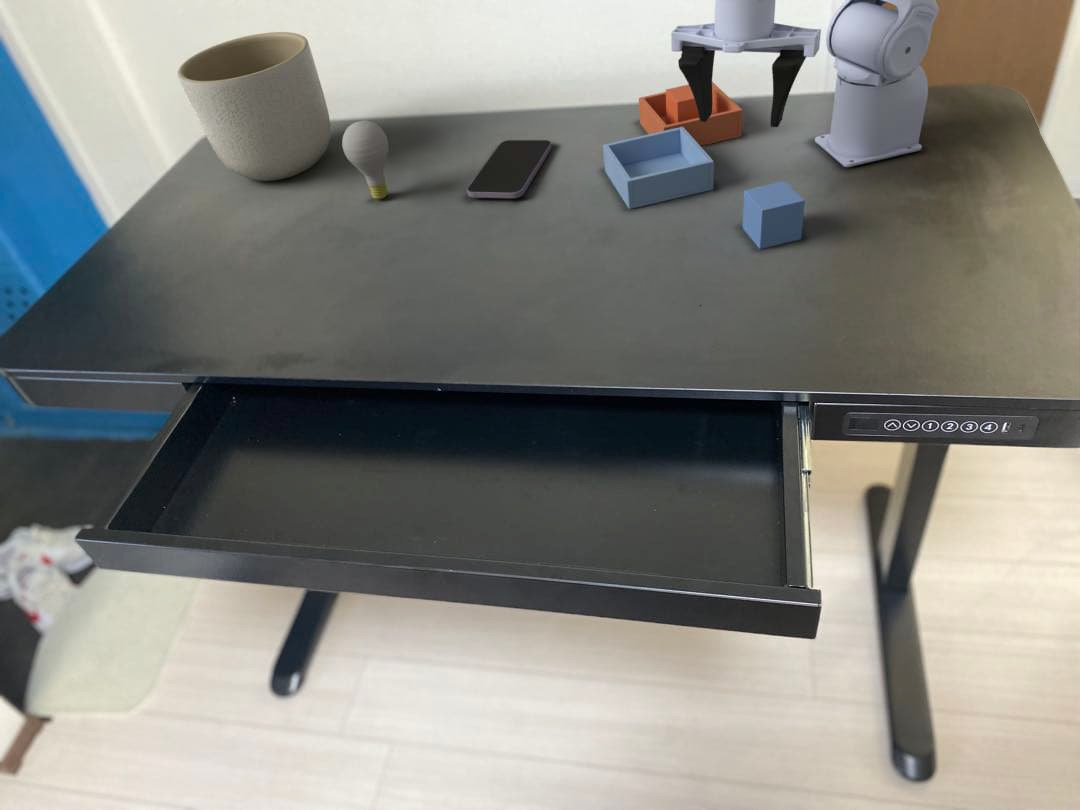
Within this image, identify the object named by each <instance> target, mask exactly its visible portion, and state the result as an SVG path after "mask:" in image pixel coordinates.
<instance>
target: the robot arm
mask: <svg viewBox="0 0 1080 810" xmlns="http://www.w3.org/2000/svg"><path fill="white" fill-rule="evenodd" d="M885 4H891V5H893V6H895V7H896V9H897V10H894V9H892V8H888V7H885V6H883V5H885ZM939 13H940V8H939V5H938V3H937V0H844V2H843V3H842V4H841V5H840V7H838V9H837V10H836V11H835V13H834V14H833V16H832V18H831V19H830V21H829V23H828V26H827V30H826V34H825V44H826V49H827V51H828V52H829V54H830V55H831V56H832V57H833V58H834V63H833V68H834V69H836V70H837V71H836V72H837V73H836V79H835V88H834V89H835V90H834V99H833V106H832V115H831V124H830V132H829V133H826V134H822V135H817V136H815V137H814V143H816V144H817V145H818V146H820V147H821V148H822V149H823V150H824V151H825V152H827V153H828V154H829V155H830V156H831V157H832V158H834V159H835V160H836V161H837V162H838V163H839V164H840V165H842V166H843V167H844V168H851V167H855V166H860V165H864V164H868V163H873V162H877V161H881V160H885V159H890V158H894V157H898V156H902V155H907V154H911V153H915V152H919V151H922V148H923V145H922V144H920V143H919V142H920V137H921V131H922V127H923V121H924V118H925V117H924V116H925V111H926V106H927V102H928V97H929V84H928V78H927V74H926V72H925V70H924V68H923V67H922V66H921V65H920V64H921V63H922V61H923V60H924V58H925V56H926V55H927V52H928V49H929V46H930V43H931V42H930V41H931V34H932V30H933V26H934V24H935V22H936V20H937V17H938V16H939V15H938V14H939ZM775 14H776V0H714V22H712V23H704V24H703V23H702V24H692V25H677V26H676V27H674V29H673V30H672V31H671V32H670V34H671V35H670V37H671V38H670V40H671V44H670V45H671V52H676V53H677V52H678V53H679V52H681V54H680V58H679V59H678V62H677V63H678V69H679V70H680V72H681V74H682V75H683V77H684V78H685V80H686V82H687V85H688V84H689V86H690V88H691V91H692V93H693V96H694V99H695V102H696V105H697V109H698V114H699V119H700V121H701V122H706V121H707V120H708V118H709V117H710V116H711V114H712V105H713V100H712V82H713V74H714V73H713V72H714V62H715V54H716V51H719V52H720V51H721V52H723V53H733V54H740V53H743V52H746V53H747V52H748V53H768V54H769V53H770V54H771V53H773V54H778V57H776V58H775V60H774V62H773V63H772V64H771V72H772V73H771V74H772V104H771V112H770V127H771V128H778V127H779V126H780V124H781V122H782V121H783V116H784V112H785V107H786V104H787V102H788V98H789V96H790V92H791V90H792V88H793V85H794V83H795V81H796V78H797V76H798V74H799V72H800V71H801V68H802V66H803V64H804V63H805V60H806V59H807V58H814V57H816V55H817V54H818V52H819V51H820V44H821V35H822V29H821V28H809V27H800V26H795V25H788V24H783V23H776V22H775Z"/></svg>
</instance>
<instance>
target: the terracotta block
mask: <svg viewBox="0 0 1080 810" xmlns="http://www.w3.org/2000/svg"><path fill="white" fill-rule="evenodd" d="M665 92H666V120H667V124H668V125H669V124H673V123H678V122H682V121H686V120H691V119H695V118H699V114H698V109H697V105H696V102H695V99H694V96H693V93H692V91H691V88H690V86H689V84H688V83H687V84H684V85H680V86H676V87H671V88H667V89H665Z"/></svg>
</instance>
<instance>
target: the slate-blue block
mask: <svg viewBox="0 0 1080 810" xmlns="http://www.w3.org/2000/svg"><path fill="white" fill-rule="evenodd" d="M805 202H806V200H805V199H804V198H803V197H802V196H801V195H800V194H799V192H797V191H796V190H795V189H794V188H793V187H792V186H791V185H790V184H789V183H788V182H787V181H786V180H782V181H778V182H774V183H770V184H765V185H762V186H761V185H760V186H757V187H753V188H748V189H744V190H743V206H742V207H743V210H742V230H743V231H744V232H745V233H746V234H747V236H748V237H749V238H750V239H751V241H753V244H755V245H756V246H757V248H758V249H759V250H762V249H766V248H772V247H774V246H779V245H782V244H786V243H792V242H795V241H799V240H801V239H802V232H803V223H804V213H805V205H806V204H805Z"/></svg>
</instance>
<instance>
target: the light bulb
mask: <svg viewBox="0 0 1080 810" xmlns="http://www.w3.org/2000/svg"><path fill="white" fill-rule="evenodd" d="M341 143H342V144H341V147H342V150H343V153H344V156H345V157H346V158H347V160H348V161H349V162H350V163H351V164H352V165H353V166H354V167H355V168H356V169H357V170H358V171H359V172H360V173H361V174H362V175H364V177H365V180H366V183H367V185H368V187H369V189H370V193H371V197H372V198H373V199H376V200H380V201H381V200H384V198H385V197H386V196H387V195H388V193H389V191H388V188H387V184H386V177H385V174H384V168H385V164H386V161H387V157H388V153H389V141H388V137H387V135H386V132H385V131H384V129H382V127H381V126H379V125H378V124H377V123H374V122H373V121H369V120H358V121H356V122H353V123H352V124H350V125H349V126H348V127H346V129H345V131H344V133H343V135H342V141H341Z"/></svg>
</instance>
